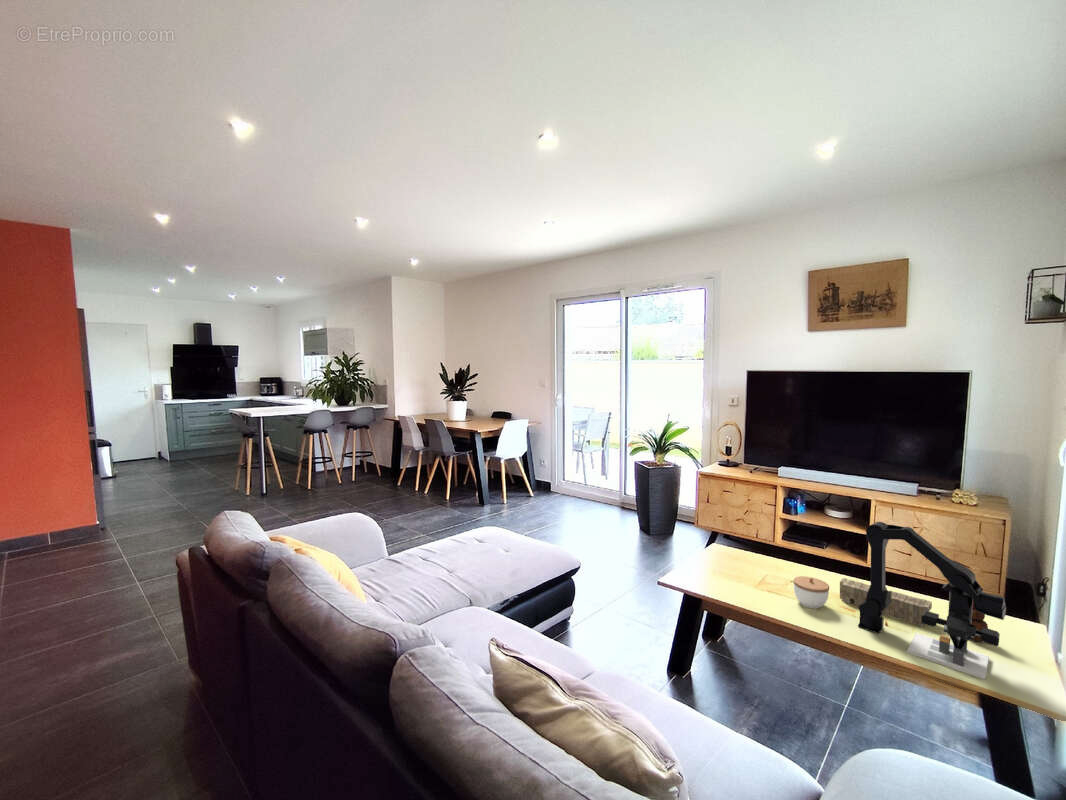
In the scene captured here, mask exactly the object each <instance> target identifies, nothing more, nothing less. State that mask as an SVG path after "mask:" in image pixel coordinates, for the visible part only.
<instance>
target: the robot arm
mask: <svg viewBox="0 0 1066 800" xmlns="http://www.w3.org/2000/svg"><path fill="white" fill-rule="evenodd" d="M865 533H866V534H865V535H866V539H867V542H868V544H869V547H870V584H869V585H870V588H869V590H868V593H867V597H866V600H865V601H864V602H863V603H861V604H860V605H859V606H857V609H858V611H859V623H858V624H857V627H858V628H862V629H865V630H867V631H870V632H873V633H876V634H880V633H881V631H883V629H884V620H885V617H884V616H883V614H882V611H883V610H884V609H885V608H887V607H888V606H889V605H890V603H892V599H891V595H892V591H893V590H888V589H887V587H886V553H887V552H886V551H887V550H886V549H887V546H888V543H889V541H890V540H901V541H905V542H906V543H907V544H908V545H910V546H911V547H912V548H913V549H915V550H916V552H918V553H920V555H922V556H923V557H924V558H926V560H928V561H930V563H932V564H933V565H934V566H935V567H936V568H937V569H938V570H939V571H940V573H941V574H942V575H943V577H944V578H945V579H946V580H947V581H948V582H947V583H946V584H944V585H942V587H941V590H943V591H946V592H949V593H948V594H949V595H948V597H949V599H948V611H947V613H948V615H947V616H946V619H943V618H940V615H939V613H935V612H933V611H925V612H924V613H923V615H922V621H921V623H923V624H924V625H926V626H929V627H932V628H934V627H936V626H937V625H940V626H943V633H945V634H948V637H950V638H951V639H950V641H951V642H952V644H953V645H954V647H955V648H958V649H962V647H963V646H964V644H965V643H966V642H967V643H968V642H969V641H972V642H973V641H974V640H973V639H974V637H975V636H976V635H977V636H980V637H981V640H982V642H983V643H984V644H988V645H991V646H993V647H994V646H995V647H999V644H1000V634H1001V633H999V631H997V630H993V629H991V628H989V627H988V628H984V627H983V629H982V631H981V630H978V629H976V626H975V625H972V624H971V623H972V606H973V602H974V608H976V611H978V612H979V613H981V614H985V616H989V617H990V618H991V617H992V618H994V619H998V620H1002V621H1004V620H1005V616H1006V612H1007V606H1006V601H1005V600H1006V598H1005V597H1004V596H1000V595H995V594H991V593H987V592H984V588H983V587H982V586H981V585H980V584H979V582H978V581H977V578H976V574H975V573H974V572H973V571H972V570H971V569H970V568H967V567H966V566H964V565H963V564H961V563H960V562H957V561H955V560H953V559H951V558H949V557H948V556H946V555H945V554H944V553H943V552H942V551H940V550H939V549H937V548H936V547H935V546H933V545H932V544H931V543H930V542H929V541H928V540H926V539H925V538H924V537H922V535H920V534H919V533H918V532H916V531H915V530H914V529H913V528H912V527H911V526H901V525H896V524H887V523H885V522H883V521H876V522H874V523H872V524H870V525H868V526H867V527H866V529H865ZM958 637H960V642H959V646H958Z"/></svg>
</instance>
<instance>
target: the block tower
mask: <svg viewBox="0 0 1066 800" xmlns="http://www.w3.org/2000/svg"><path fill="white" fill-rule="evenodd" d="M870 585H871V584H866V583H863V582H860V581H857V580H851V579H848V578H845V577H843V578H842V579H840V580H839V599H840V600H841V602H842V603H845V604H849V605H851V604H852V603H853V601H854V607H855V606H856V607H858V606H859V605H860V604H861V603H863V602H864V601H865V600H866V597H867V593H868V590H869V588H870ZM891 591H892V595H891V599H892V603H890V605H889V606H888V607H887V608H885V609H884V610H883V611H882V615H885V616H888V617H891V618H894V619H897V620H900V621H903V622H907V623H911V624H914V625H917V626H921V627H924V625H925V624H923V623H921V621H922V615H923V613H924V612H925V611H929V612H931V610H932V607H933V606H932V605H933V602H932V601H931V600H927V599H924V598H922V599H921V598H917V597H914V596H912V595H908V594H903V593H900V592H896V591H893V590H891Z"/></svg>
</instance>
